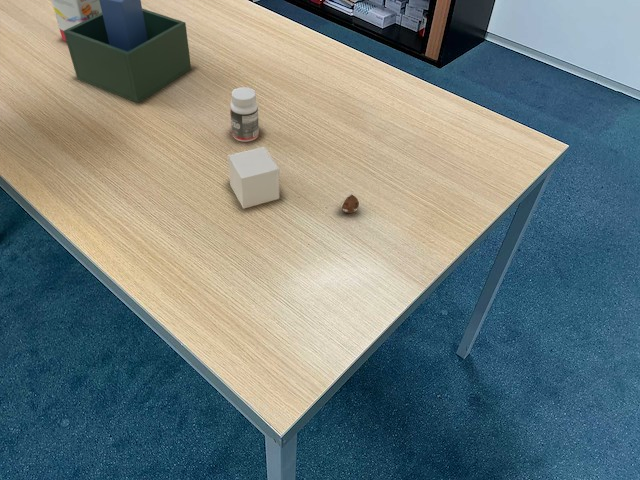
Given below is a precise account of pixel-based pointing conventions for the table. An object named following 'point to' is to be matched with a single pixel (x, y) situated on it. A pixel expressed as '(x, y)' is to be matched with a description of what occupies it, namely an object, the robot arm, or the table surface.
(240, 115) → the pill bottle
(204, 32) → the table surface
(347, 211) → the chocolate
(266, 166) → the white cube
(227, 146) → the table surface
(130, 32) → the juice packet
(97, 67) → the waste bin
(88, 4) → the ink box
